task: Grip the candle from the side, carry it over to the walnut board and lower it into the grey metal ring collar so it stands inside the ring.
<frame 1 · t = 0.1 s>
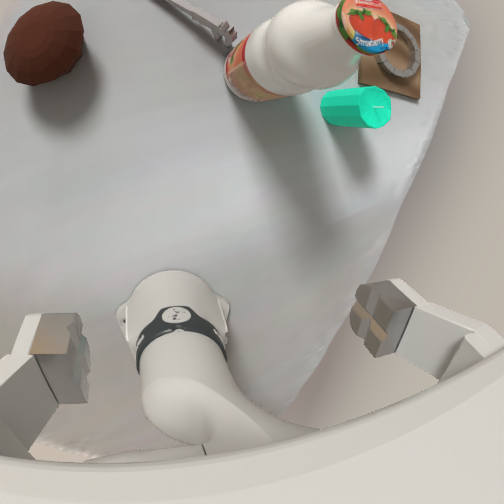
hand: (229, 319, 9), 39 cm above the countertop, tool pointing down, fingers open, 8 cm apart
ring board: (390, 50, 46), on the countertop
muffin: (55, 52, 32), on the countertop
fruit juice: (253, 72, 42), on the countertop
candle: (335, 107, 47), on the countertop
ring collar: (396, 49, 44), on the ring board, point 1 cm above the countertop
caliper: (174, 7, 35), on the countertop
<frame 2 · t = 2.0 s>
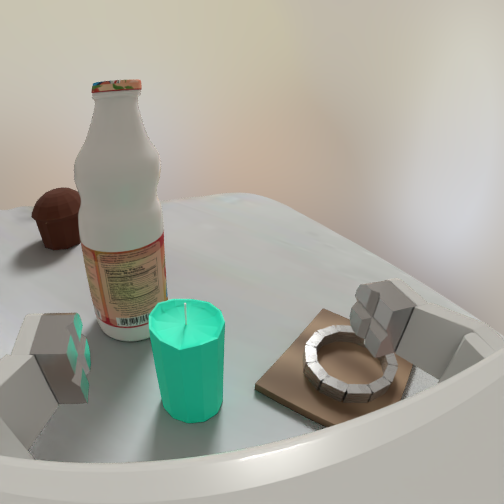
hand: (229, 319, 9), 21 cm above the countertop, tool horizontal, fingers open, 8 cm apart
ring board: (346, 372, 34), on the countertop
muffin: (64, 240, 56), on the countertop
fruit juice: (133, 319, 39), on the countertop
candle: (192, 399, 29), on the countertop
ring collar: (350, 361, 33), on the ring board, point 1 cm above the countertop
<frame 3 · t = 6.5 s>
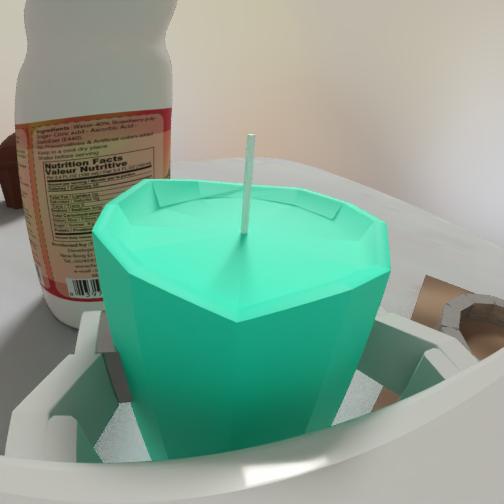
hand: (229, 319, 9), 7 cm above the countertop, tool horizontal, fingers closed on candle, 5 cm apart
ring board: (492, 370, 16), on the countertop
muffin: (33, 199, 38), on the countertop
fruit juice: (109, 294, 21), on the countertop
candle: (229, 462, 11), on the countertop, touching gripper
when the fingers open (10 cm above the countertop, at t = 11.3 s): candle stays where it is, resting on ring board.
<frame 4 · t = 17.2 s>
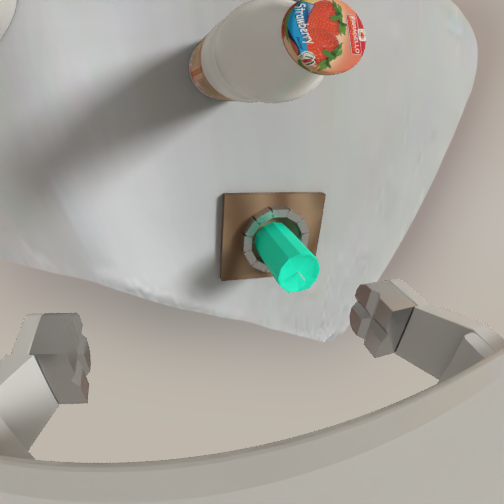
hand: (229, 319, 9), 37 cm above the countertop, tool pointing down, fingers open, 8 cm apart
ring board: (271, 235, 52), on the countertop
fruit juice: (223, 67, 38), on the countertop
candle: (272, 239, 51), point 1 cm above the countertop, touching ring board
ring collar: (275, 239, 50), on the ring board, point 1 cm above the countertop
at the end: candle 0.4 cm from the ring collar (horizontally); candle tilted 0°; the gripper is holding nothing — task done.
